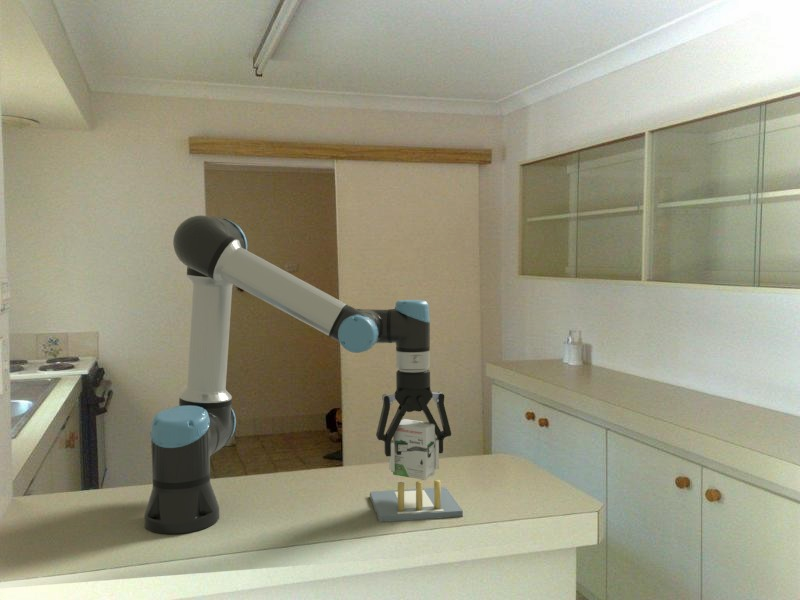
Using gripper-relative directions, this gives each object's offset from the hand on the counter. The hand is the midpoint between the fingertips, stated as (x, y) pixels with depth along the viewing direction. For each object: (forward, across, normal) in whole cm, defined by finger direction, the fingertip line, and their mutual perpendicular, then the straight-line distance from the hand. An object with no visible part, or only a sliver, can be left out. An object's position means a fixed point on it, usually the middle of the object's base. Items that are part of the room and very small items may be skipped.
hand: (414, 468), depth 161 cm
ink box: (+2, 0, 0) cm, 2 cm away
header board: (+8, 0, -1) cm, 8 cm away
